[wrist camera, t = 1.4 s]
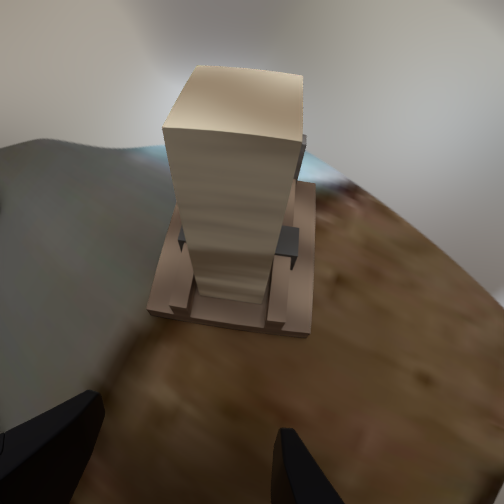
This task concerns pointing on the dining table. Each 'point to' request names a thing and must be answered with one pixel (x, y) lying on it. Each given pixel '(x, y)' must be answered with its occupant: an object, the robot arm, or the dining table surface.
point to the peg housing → (278, 285)
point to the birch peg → (234, 172)
